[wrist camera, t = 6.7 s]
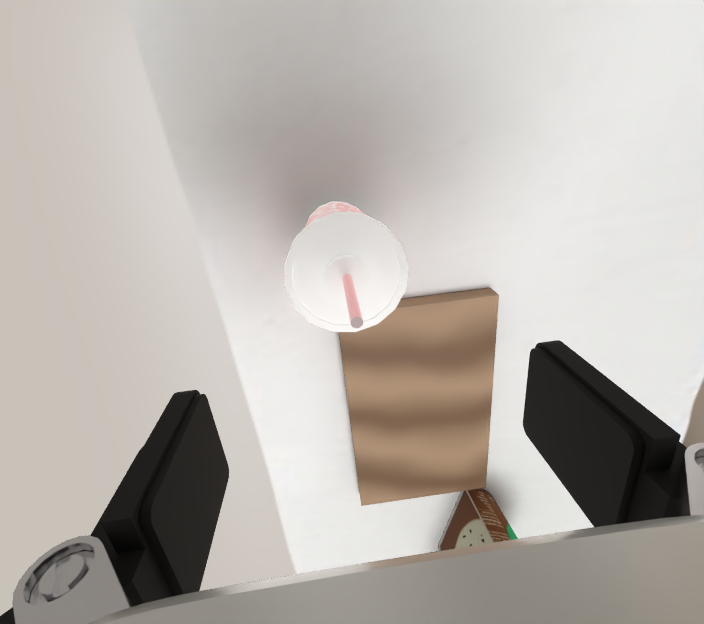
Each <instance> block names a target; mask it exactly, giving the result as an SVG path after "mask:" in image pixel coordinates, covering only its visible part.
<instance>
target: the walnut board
mask: <svg viewBox="0 0 704 624" xmlns="http://www.w3.org/2000/svg"><path fill="white" fill-rule="evenodd" d="M498 299H499V295H498V294H497V293H496V292H495V291H494V290H492V289H491V288H484V289H476V290H469V291H461V292H453V293H445V294H437V295H429V296H421V297H413V298H406V299H401V300H400V302H399V303H398V305H397V307H396V309H395V310H394V311H393V312H392V313H390V314H389V315H388V316H387V317H386V318H384V319H383V320H382V321H381V322H380V323H378V324H377V325H374V326H371V327H369V328H366V329H363V330H360V331H358V332H339V337H340V345H341V353H342V360H343V368H344V376H345V383H346V391H347V399H348V406H349V414H350V422H351V429H352V437H353V445H354V452H355V460H356V468H357V475H358V483H359V491H360V498H361V506H363V505H369V504H376V503H383V502H390V501H397V500H404V499H411V498H417V497H424V496H431V495H438V494H445V493H452V492H458V491H465V490H472V489H479V488H486V476H487V462H488V447H489V432H490V417H491V402H492V388H493V373H494V358H495V343H496V328H497V314H498Z"/></svg>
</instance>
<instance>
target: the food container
mask: <svg viewBox="0 0 704 624" xmlns="http://www.w3.org/2000/svg"><path fill="white" fill-rule="evenodd" d="M514 539H518V538H517V537H516V535H515V533H514V532H513V530H512V528H511V527H510V525H509V523H508V522H507V520H506V518H505V517H504V515H503V513H502V512H501V510H500V508H499V507H498V505H497V503H496V502H495V500H494V498H493V497H492V495H491V494H490V493H489V492H487V491H486V490H484V489H482V488H479V489H472V490H465V491H461V492H460V495H459V497H458V499H457V502H456V504H455V506H454V509H453V511H452V513H451V516H450V518H449V521H448V523H447V525H446V528H445V530H444V532H443V535H442V537H441V539H440V542H439V544H438V547H439V551H444V550H450V549H457V548H463V547H469V546H476V545H482V544H488V543H495V542H501V541H508V540H514Z"/></svg>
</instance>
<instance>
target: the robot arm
mask: <svg viewBox="0 0 704 624" xmlns="http://www.w3.org/2000/svg"><path fill="white" fill-rule="evenodd" d="M523 427H524V430H525V433H526V435H527V436H528V438H529V439H530V440H531V442H532V443H533V444H534V446H535V447H536V448H537V450H538V451H539V452H540V454H541V455H542V457H543V458H544V459H545V461H546V462H547V463H548V465H549V466H550V467H551V469H552V470H553V471H554V473H555V474H556V476H557V477H558V478H559V480H560V481H561V482H562V484H563V485H564V486H565V488H566V489H567V490H568V492H569V493H570V495H571V496H572V497H573V499H574V500H575V501H576V503H577V504H578V505H579V507H580V508H581V509H582V511H583V512H584V514H585V515H586V516H587V518H588V519H589V520H590V522H591V523H592V524H593V526H594V527H593V528H587V529H580V530H574V531H567V532H560V533H554V534H547V535H541V536H534V537H528V538H521V539H514V540H508V541H501V542H495V543H488V544H482V545H476V546H469V547H463V548H457V549H450V550H444V551H438V552H431V553H425V554H419V555H412V556H406V557H400V558H394V559H387V560H381V561H375V562H368V563H362V564H356V565H350V566H344V567H338V568H332V569H326V570H320V571H314V572H308V573H301V574H295V575H290V576H284V577H277V578H271V579H266V580H259V581H253V582H248V583H242V584H237V585H231V586H226V587H220V588H215V589H209V590H204V591H199V590H200V586H201V582H202V578H203V574H204V571H205V567H206V563H207V559H208V555H209V552H210V548H211V544H212V540H213V536H214V532H215V528H216V524H217V521H218V517H219V513H220V509H221V505H222V502H223V498H224V494H225V490H226V486H227V482H228V478H229V468H228V464H227V460H226V457H225V454H224V451H223V447H222V444H221V441H220V438H219V435H218V431H217V428H216V425H215V422H214V419H213V415H212V412H211V409H210V406H209V403H208V399H207V397H206V395H205V394H201V395H200V393H199V392H198V391H197V390H192V391H184V392H177V393H175V394H174V395H173V396H172V398H171V399H170V401H169V403H168V405H167V406H166V408H165V410H164V412H163V413H162V415H161V417H160V419H159V421H158V422H157V424H156V426H155V428H154V429H153V431H152V433H151V434H150V437H149V438H148V440H147V441H146V443H145V445H144V447H142V448H141V450H140V451H139V452H138V454H137V456H136V458H135V459H134V461H133V463H132V464H131V466H130V468H129V470H128V471H127V473H126V475H125V477H124V478H123V480H122V482H121V484H120V485H119V487H118V489H117V490H116V492H115V494H114V496H113V497H112V499H111V501H110V503H109V504H108V506H107V508H106V509H105V511H104V513H103V515H102V516H101V518H100V520H99V522H98V523H97V525H96V527H95V528H94V530H93V532H92V534H91V535H90V536H79V537H76V538H73V539H70V540H67V541H65V542H63V543H61V544H59V545H57V546H55V547H53V548H52V549H51V550H49V551H48V552H46V553H45V554H44V555H42V556H41V557H40V558H39V559H38V560H37V561H36V562H35V563H34V564H33V565H32V566H30V567H29V568H28V570H27V571H26V572H25V574H24V575H23V576H22V578H21V579H20V580H19V582H18V585H17V587H16V589H15V591H14V595H13V607H12V608H11V609H10V610H8V611H7V612H5V613H4V614H3V615H1V616H0V624H704V443H697V444H693V445H691V446H690V447H688V448H686V447H685V446H684V445H683V444H681V443H680V442H679V439H680V436H681V435H680V434H678V433H677V432H676V431H674V430H673V429H672V428H671V427H669V426H668V425H667V424H666V423H664V422H663V421H662V420H660V419H659V418H658V417H657V416H655V415H654V414H653V413H652V412H650V411H649V410H648V409H646V408H645V407H644V406H643V405H641V404H640V403H639V402H638V401H636V400H635V399H634V398H632V397H631V396H630V395H629V394H627V393H626V392H625V391H624V390H622V389H621V388H620V387H618V386H617V385H616V384H615V383H613V382H612V381H611V380H610V379H608V378H607V377H606V376H604V375H603V374H602V373H601V372H599V371H598V370H597V369H596V368H594V367H593V366H592V365H591V364H589V363H588V362H587V361H585V360H584V359H583V358H582V357H580V356H579V355H578V354H577V353H575V352H574V351H573V350H571V349H570V348H569V347H568V346H566V345H565V344H564V343H563V342H561V341H550V342H542V343H538V344H537V345H536V347H535V349H532V350H531V352H530V358H529V368H528V378H527V388H526V398H525V408H524V418H523Z"/></svg>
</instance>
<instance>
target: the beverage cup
mask: <svg viewBox="0 0 704 624" xmlns="http://www.w3.org/2000/svg"><path fill="white" fill-rule="evenodd" d="M408 269H409V266H408V262H407V259H406V256H405V253H404V250H403V246H402V244H401V242H400V241H399V240H398V239H397V238H396V237H395V236H394V234H393V233H392V232H391V231H390V230H389V229H388V228H387V226H386V225H385V224H383V223H382V222H380V221H378V220H376V219H374V218H371V217H369V216H367V215H365V214H364V213H363V212H362V211H361V210H359V209H358V208H357V207H355V206H353V205H351V204H349V203H347V202H335V201H332V202H329V203H326V204H324V205H321V206H319V207H318V208H317V209H316V210H315V211H314V212H313V213H312V214H311V215H310V217H309V219H308V221H307V223H306V226H305V228H304V229H303V230H302V231H301V232H300V233H299V234H298V235H297V236H296V237H295V238H294V240H293V243H292V245H291V248H290V250H289V253H288V255H287V257H286V260H285V262H284V282H285V290H286V292H287V294H288V296H289V298H290V300H291V302H292V304H293V306H294V309H295V310H296V311H298V312H299V313H300V314H301V315H302V316H303V317H304V318H305V319H307V320H308V321H309V322H310V323H311V324H313V325H316V326H318V327H321V328H324V329H326V330H329V331H332V332H358V331H360V330H363V329H366V328H369V327H371V326H374V325H377V324H378V323H380V322H381V321H382V320H383V319H384V318H386V317H387V316H388V315H389V314H390V313H392V312H393V311H394V310H395V309H396V307H397V305H398V303H399V302H400V300H401V298H402V296H403V294H404V292H405V291H406V287H407V278H408Z"/></svg>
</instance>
